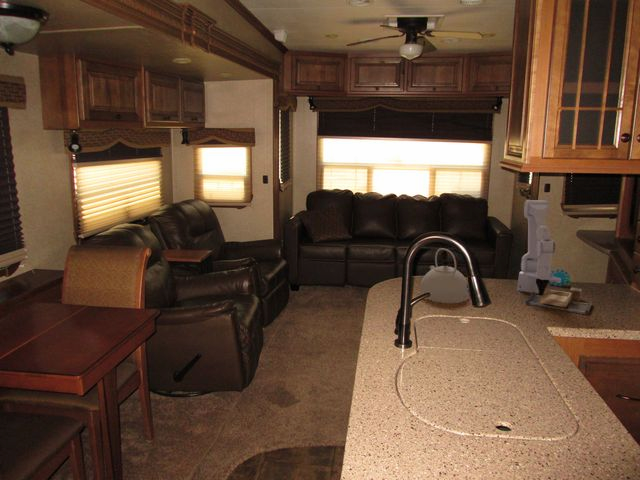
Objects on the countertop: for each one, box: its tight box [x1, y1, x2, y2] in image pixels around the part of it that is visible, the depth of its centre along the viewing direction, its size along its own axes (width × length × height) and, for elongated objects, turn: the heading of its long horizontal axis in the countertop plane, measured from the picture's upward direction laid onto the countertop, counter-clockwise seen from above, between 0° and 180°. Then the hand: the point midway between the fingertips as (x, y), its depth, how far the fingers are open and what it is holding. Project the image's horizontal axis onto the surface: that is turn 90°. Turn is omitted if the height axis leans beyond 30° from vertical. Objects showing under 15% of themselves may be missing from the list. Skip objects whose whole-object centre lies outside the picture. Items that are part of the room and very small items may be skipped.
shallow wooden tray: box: [540, 288, 572, 307], centre depth 231 cm, size 11×16×3 cm
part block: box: [569, 287, 583, 302], centre depth 238 cm, size 4×4×5 cm
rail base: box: [525, 292, 593, 316], centre depth 231 cm, size 25×16×2 cm, turn 57°
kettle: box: [419, 247, 470, 304], centre depth 242 cm, size 25×23×22 cm
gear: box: [549, 268, 573, 287], centre depth 262 cm, size 11×6×10 cm
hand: (541, 295), depth 234 cm, fingers closed
